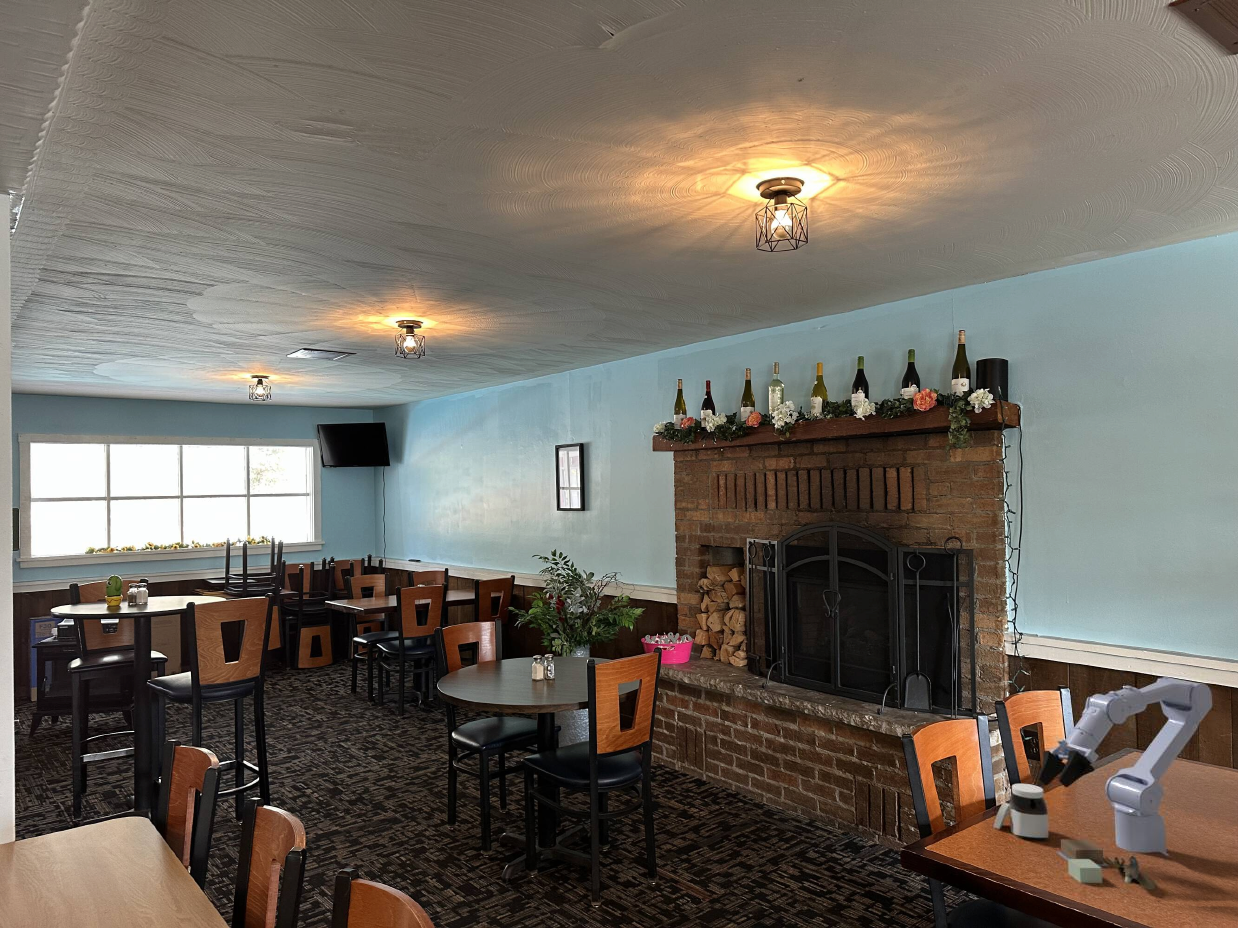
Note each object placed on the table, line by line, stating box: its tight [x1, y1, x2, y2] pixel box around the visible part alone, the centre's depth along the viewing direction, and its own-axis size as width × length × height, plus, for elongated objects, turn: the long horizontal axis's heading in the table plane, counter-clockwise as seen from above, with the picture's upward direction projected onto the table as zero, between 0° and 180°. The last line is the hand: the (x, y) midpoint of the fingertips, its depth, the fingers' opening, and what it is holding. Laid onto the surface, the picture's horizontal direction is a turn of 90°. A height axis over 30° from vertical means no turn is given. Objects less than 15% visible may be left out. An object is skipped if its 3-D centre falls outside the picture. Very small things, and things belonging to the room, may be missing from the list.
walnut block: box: [1060, 838, 1104, 864], centre depth 183 cm, size 6×6×3 cm
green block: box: [1067, 859, 1103, 884], centre depth 173 cm, size 4×4×4 cm
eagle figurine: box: [1104, 854, 1158, 890], centre depth 171 cm, size 8×7×9 cm
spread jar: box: [993, 783, 1049, 842], centre depth 199 cm, size 12×11×12 cm
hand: (1052, 782), depth 183 cm, fingers open, 7 cm apart
